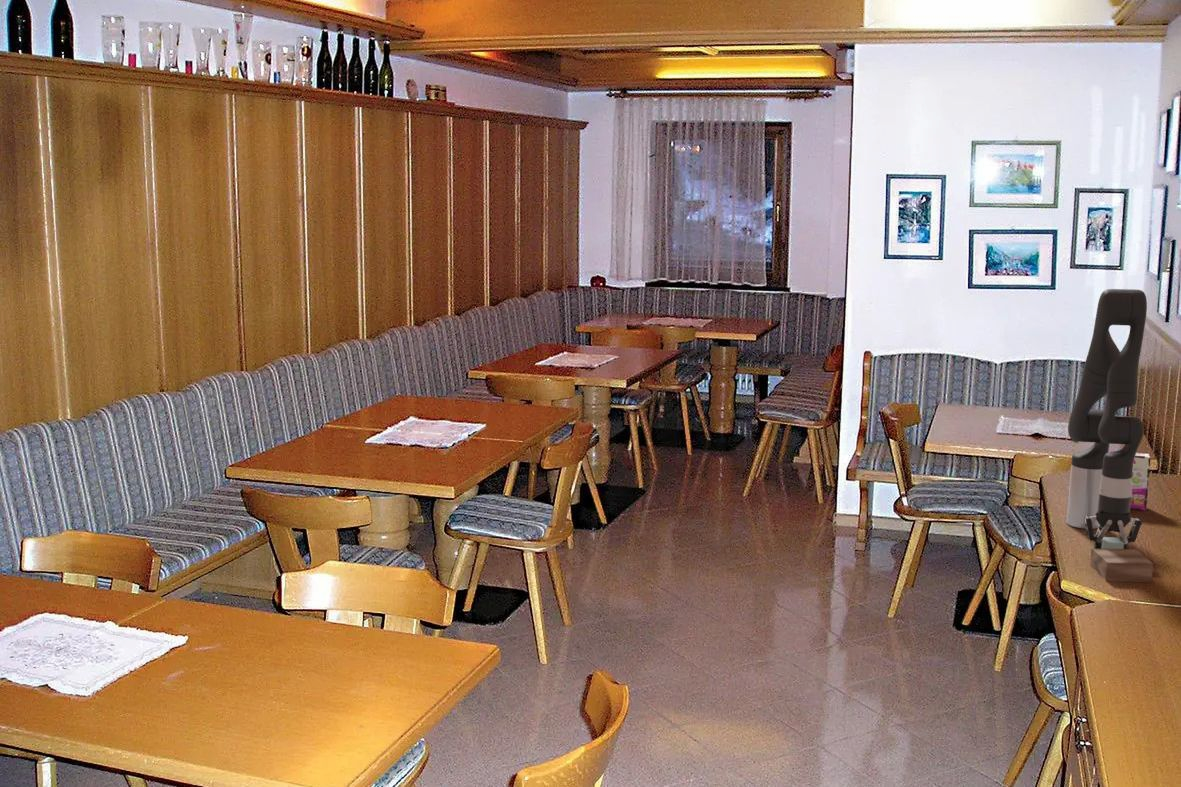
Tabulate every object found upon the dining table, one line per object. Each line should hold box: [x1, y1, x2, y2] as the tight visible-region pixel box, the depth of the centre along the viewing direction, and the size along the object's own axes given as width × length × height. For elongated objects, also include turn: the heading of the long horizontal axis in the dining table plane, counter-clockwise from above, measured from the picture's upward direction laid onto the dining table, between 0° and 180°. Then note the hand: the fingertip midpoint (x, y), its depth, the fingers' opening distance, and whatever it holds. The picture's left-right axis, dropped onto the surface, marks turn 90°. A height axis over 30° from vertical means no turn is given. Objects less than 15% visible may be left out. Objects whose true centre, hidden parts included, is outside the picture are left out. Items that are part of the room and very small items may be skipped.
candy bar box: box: [1109, 450, 1151, 511], centre depth 356 cm, size 11×5×16 cm, turn 68°
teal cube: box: [1101, 536, 1124, 549], centre depth 310 cm, size 5×5×5 cm
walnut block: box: [1089, 547, 1154, 583], centre depth 299 cm, size 11×11×5 cm
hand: (1109, 556), depth 311 cm, fingers closed on teal cube, 5 cm apart
